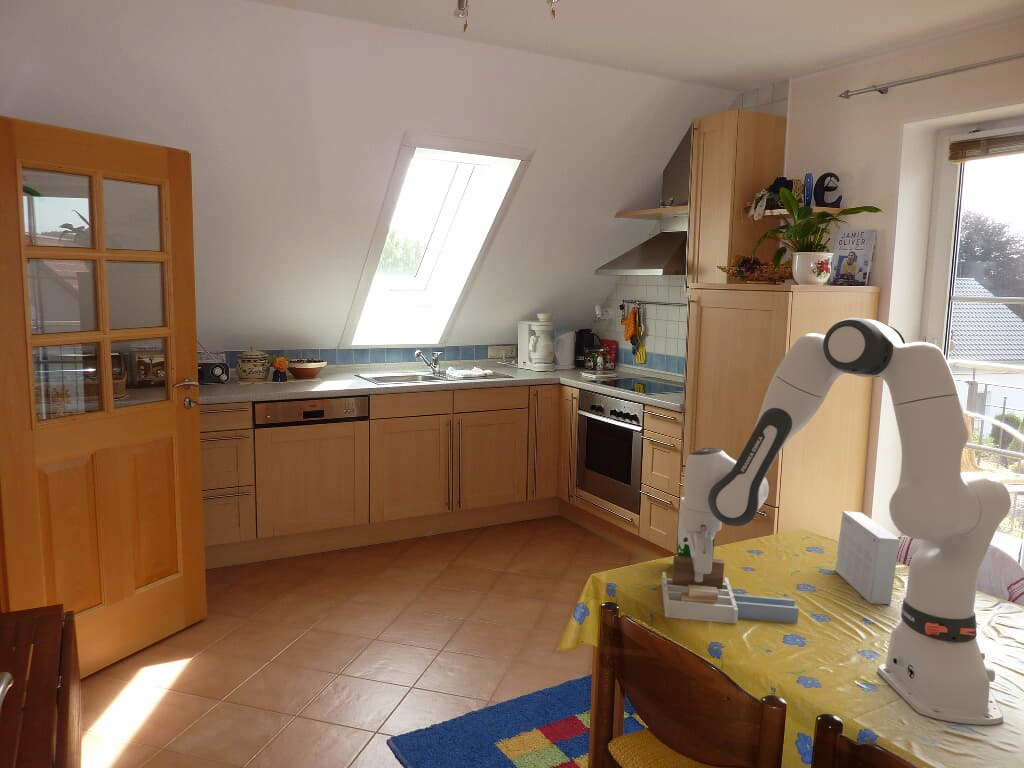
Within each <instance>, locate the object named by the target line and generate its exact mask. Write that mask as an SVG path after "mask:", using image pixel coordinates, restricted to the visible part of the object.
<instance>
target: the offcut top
mask: <svg viewBox="0 0 1024 768" xmlns="http://www.w3.org/2000/svg"><path fill="white" fill-rule="evenodd" d="M688 595H689V598H693V599H704V600H715V601H718V590H717V587H708V586H697V585H688Z"/></svg>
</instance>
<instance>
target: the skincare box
mask: <svg viewBox="0 0 1024 768" xmlns="http://www.w3.org/2000/svg"><path fill="white" fill-rule="evenodd" d="M841 515H842V516H841V521H840V522H841V523H840V531H839V536H838V538H839V539H838V543H837V544H838V545H837V552H836V558H835V559H836V560H835V567H834V571H835V572H837V574H839V576H841V578H843V579H844V581H845V582H847V583H848V584H849V585H850V586H851V587H852V588H853V589H854V590H855V591H857V593H858V594H860V595H861V596H862V597H863V599H865V600H866V601H867V602H868V603H869V604H876V605H891V604H892V596H893V589H894V581H895V574H896V569H897V568H896V567H897V561H898V560H897V559H898V554H899V553H898V552H899V546H900V538H899V537H897V536H895V535H894V534H893V533H891V532H890V531H889V530H887V529H885V528H884V526H881V524H878V523H877V522H876V521H875V520H873V519H871V517H869V516H867V515H866V514H864V513H863V512H859V511H845V510H842V514H841Z"/></svg>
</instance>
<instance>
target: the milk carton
mask: <svg viewBox="0 0 1024 768" xmlns="http://www.w3.org/2000/svg"><path fill="white" fill-rule="evenodd" d="M684 497H685V496H681V497H680V504H679V505H680V506H679V509H678V511H679V512H678V526H677V527H678V528H677V538H676V539H677V542H676V543H677V544H676V554H677V555H676V556H682V557H691V553H690V549H689V544H688V538H687V532H686V528H684V527H683V526H682V525H681V518H682V503H683V500H684ZM715 536H716V535H715ZM715 536H713V537H712V542H713V553H715V552H714V548H715ZM712 559H714V555H713V556H712Z"/></svg>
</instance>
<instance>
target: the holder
mask: <svg viewBox="0 0 1024 768" xmlns="http://www.w3.org/2000/svg"><path fill="white" fill-rule="evenodd" d="M733 595H734V599H735V602H736V605H737V608H738V619H746V620H757V621H768V622H770V621H771V622H778V623H779V622H780V623H788V624H789V623H793V624H799V621H798V620H799V612H800V611H799V610H800V608H799V607H798V606H796V605H795V603H796V601H795V599H793V598H783V597H782V598H781V597H772V596H771V597H769V596H760V595H747V594H736V593H733Z"/></svg>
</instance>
